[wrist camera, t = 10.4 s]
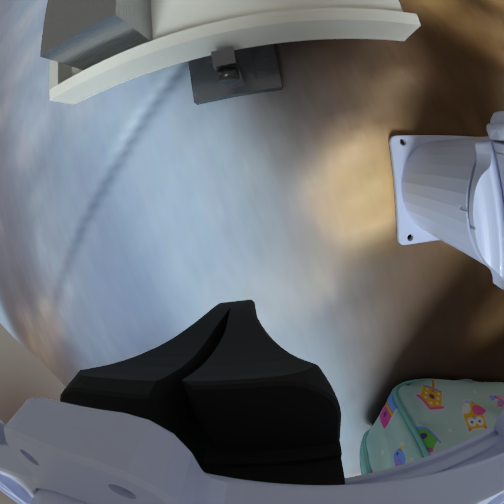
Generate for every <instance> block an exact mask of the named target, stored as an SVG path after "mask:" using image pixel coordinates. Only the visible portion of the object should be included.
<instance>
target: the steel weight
mask: <svg viewBox="0 0 504 504" xmlns="http://www.w3.org/2000/svg"><path fill="white" fill-rule="evenodd" d="M152 40H153V37H152V18H151V0H48V3H47V8H46V14H45V20H44V27H43V35H42V44H41V55H40V57H44V58H47V59H50V60H53V61H57V62H60V63H63V64H66V65H69V66H72V67H75V68H78V69H80V70H85V69H87V68H89V67H91V66H93V65H95V64H97V63H99V62H101V61H104V60H106V59H108V58H110V57H112V56H115V55H117V54H119V53H121V52H124V51H126V50H129V49H131V48H134V47H136V46H139V45H141V44H144V43H147V42H149V41H152Z"/></svg>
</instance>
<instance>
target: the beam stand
mask: <svg viewBox="0 0 504 504" xmlns="http://www.w3.org/2000/svg"><path fill="white" fill-rule="evenodd" d="M189 68H190V76H191V83H192V90H193V97H194V103H196V104H197V105H198V104H203V103H207V102H212V101H216V100H221V99H226V98H232V97H237V96H242V95H248V94H254V93H261V92H268V91H275V90H282V83H281V78H280V73H279V68H278V63H277V58H276V53H275V49H274V44H269V45H262V46H255V47H249V48H243V49H238V50H234V48H233V47H231V48H226V49H221V50H216V51H212V52H211V55H210V56H206V57H202V58H198V59H194V60H190V61H189Z"/></svg>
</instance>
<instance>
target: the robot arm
mask: <svg viewBox="0 0 504 504" xmlns="http://www.w3.org/2000/svg"><path fill="white" fill-rule="evenodd" d="M486 130H487V133H488V136H487V137H471V136H448V135H396V136H392V137H391V138H390V140H389V146H390V153H391V161H392V170H393V180H394V191H395V204H396V223H397V240H398V242H399V243H400V244H402V245H407V244H414V243H421V242H428V241H435V240H442V241H444V242H446V243H447V244H449V245H451V246H453V247H455V248H457V249H458V250H460V251H462V252H464V253H465V254H467V255H469V256H471V257H472V258H474V259H476V260H477V261H479V262H481V263H482V264H484V265H486V266H487V267H488V268H489V269H490V270H491V273H492V276H493V283H494V284H495V285H497V286H498V287H500V288H501V289H503V290H504V111H499V112H495V113H493V115H492V117H491V120H490V123H488V124H487V125H486ZM401 139H402V140H403V141H404V145H403V146H402V145H401V144H400V140H401ZM410 234H411V238H410V239H409V240H408V239H407V237H408V235H410ZM340 424H341V411H340V406H339V403H338V400H337V397H336V395H335V393H334V391H333V389H332V387H331V385H330V383H329V382H328V380H327V378H326V377H325V375H324V374H323V372H322V371H321V369H320V368H319V366H317V365H316V364H313V363H310V362H307V361H305V360H302V359H299V358H297V357H295V356H293V355H291V354H290V353H288V352H287V351H285V350H284V349H283V348H281V347H280V346H279V345H278V344H277V343H276V342H275V341H274V340H273V339H272V338H271V337H270V336H269V335H268V334H267V332H266V331H265V330H264V328H263V327H262V325H261V324H260V322H259V320H258V318H257V315H256V309H255V303H254V302H253V301H252V300H244V301H235V302H226V303H220V304H218V305H217V306H215V307H214V308H213V309H211V310H210V311H209V312H208V313H207V314H205V315H204V316H203V317H202V318H200V319H199V320H198V321H197V322H196V323H194V324H193V325H191V326H190V327H189V328H187V329H186V330H185V331H183V332H182V333H180V334H179V335H177V336H176V337H174V338H173V339H171V340H169V341H168V342H166V343H164V344H162V345H160V346H158V347H156V348H154V349H152V350H150V351H147V352H145V353H143V354H141V355H138V356H136V357H133V358H130V359H127V360H124V361H121V362H117V363H114V364H110V365H106V366H101V367H96V368H91V369H85V370H80V371H79V372H78V373H77V375H76V376H75V377H74V379H73V380H72V381H71V382H70V383H69V385H68V386H67V387H66V389H65V390H64V391H63V393H62V394H61V398H60V402H59V401H55V400H51V399H47V398H43V397H33V398H29V399H28V400H27V401H26V402H25V403H24V404H23V405H22V407H21V408H20V409H19V410H18V411H17V412H16V414H15V415H14V416H13V417H12V419H10V421H9V422H8V423H7V424H6V426H5V424H4V423H3V422H2V421H1V420H0V490H1V491H2V492H4V493H5V494H6V495H7V496H9V497H10V498H12V499H13V500H14V501H16V502H17V503H19V504H504V410H503V411H502V412H501V413H500V415H499V417H498V418H497V421H496V423H495V426H494V427H492V428H490V429H489V430H487V431H485V432H483V433H481V434H479V435H477V436H475V437H472V438H470V439H468V440H466V441H464V442H462V443H459V444H457V445H455V446H452V447H450V448H448V449H445V450H443V451H440V452H437V453H435V454H432V455H429V456H427V457H424V458H421V459H418V460H415V461H412V462H409V463H406V464H402V465H399V466H396V467H392V468H388V469H385V470H381V471H377V472H373V473H369V474H364V475H360V476H355V477H350V478H344V472H343V467H342V461H341V455H342V453H341V446H340V441H339V439H340Z"/></svg>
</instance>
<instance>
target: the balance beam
mask: <svg viewBox="0 0 504 504" xmlns="http://www.w3.org/2000/svg"><path fill="white" fill-rule="evenodd" d="M151 18H152V37H153V40H152V41H149V42H147V43H144V44H141V45H139V46H136V47H134V48H131V49H129V50H126V51H124V52H121V53H119V54H117V55H115V56H112V57H110V58H108V59H106V60H104V61H101V62H99V63H97V64H95V65H93V66H91V67H89V68H87V69H85V70H80V69H78V68H75V67H72V66H69V65H66V64H63V63H60V62H57V61H53V60H50V101H56V102H62V103H68V104H73V105H75V104H77V103H79V102H81V101H83V100H85V99H87V98H89V97H91V96H94V95H96V94H98V93H100V92H103V91H105V90H107V89H109V88H112V87H114V86H117V85H119V84H122V83H124V82H127V81H129V80H132V79H134V78H137V77H140V76H143V75H145V74H148V73H151V72H154V71H157V70H160V69H163V68H166V67H170V66H173V65H176V64H180V63H183V62H187V61H190V60H194V59H198V58H202V57H206V56H210V55H211V52H212V51H216V50H221V49H226V48H231V47H233V48H234V50H238V49H243V48H249V47H255V46H262V45H269V44H276V43H284V42H294V41H306V40H321V39H381V40H396V41H405V40H406V39H407V38H408V37H409V36H410V35H411V34H412V33H413V32H415V31H416V30H417V29H418V28H419V27H420V26H421V24H420V22H419V19H418V16H417V14H413V13H406V12H403V10H402V8H401V5H400V3H399V0H151Z"/></svg>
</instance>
